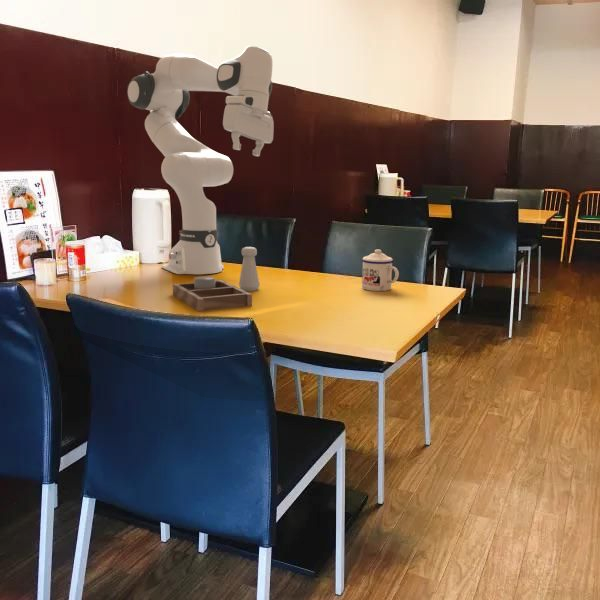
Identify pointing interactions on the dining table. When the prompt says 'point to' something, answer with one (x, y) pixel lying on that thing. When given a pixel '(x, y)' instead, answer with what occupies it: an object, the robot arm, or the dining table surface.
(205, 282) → the gray block
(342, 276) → the dining table surface
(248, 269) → the salt shaker
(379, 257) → the teacup with lid
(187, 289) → the brown wooden divided tray
